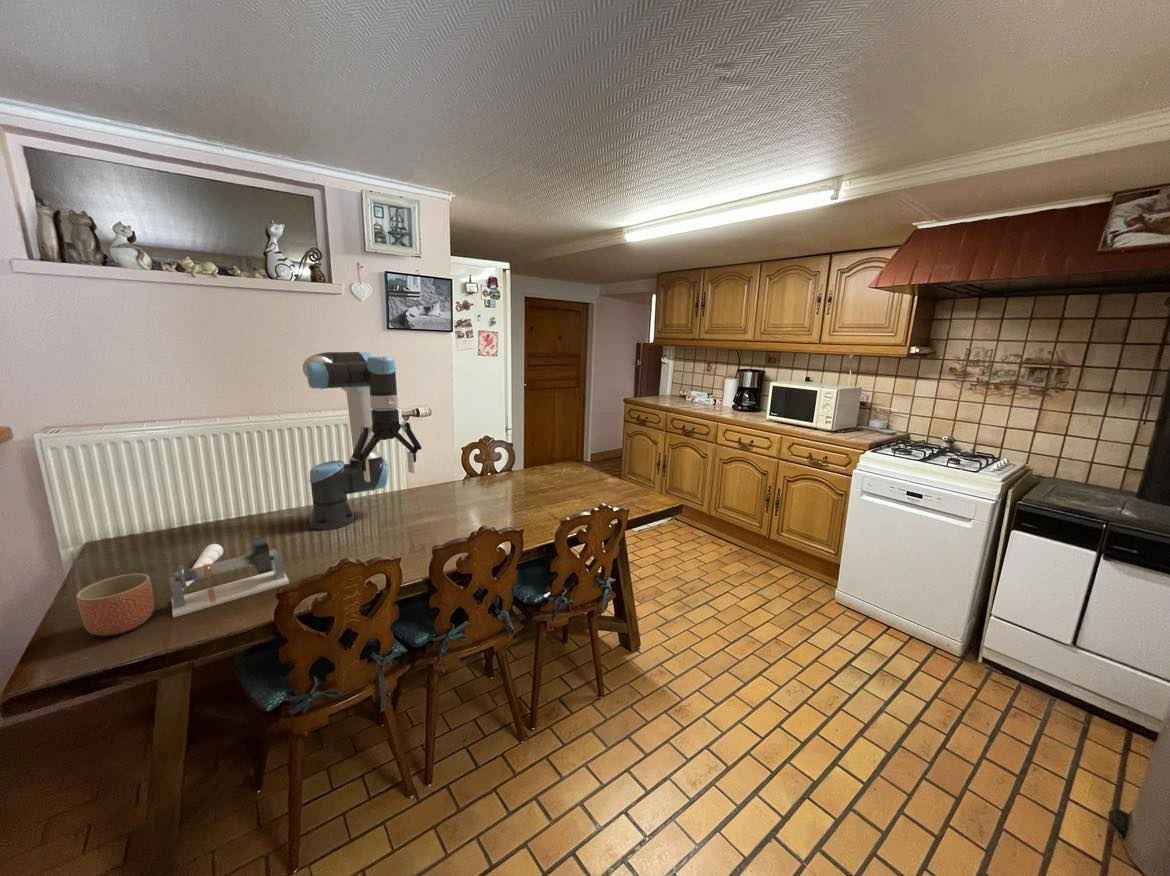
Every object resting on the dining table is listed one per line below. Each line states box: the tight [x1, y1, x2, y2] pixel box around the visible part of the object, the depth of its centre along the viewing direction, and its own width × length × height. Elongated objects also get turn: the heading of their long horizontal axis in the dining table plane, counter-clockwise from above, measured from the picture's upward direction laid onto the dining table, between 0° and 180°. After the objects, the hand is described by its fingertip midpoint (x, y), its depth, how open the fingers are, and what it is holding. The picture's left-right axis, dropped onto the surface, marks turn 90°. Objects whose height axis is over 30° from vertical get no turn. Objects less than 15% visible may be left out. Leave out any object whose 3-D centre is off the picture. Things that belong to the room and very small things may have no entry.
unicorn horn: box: [183, 543, 224, 591], centre depth 136 cm, size 5×24×5 cm, turn 15°
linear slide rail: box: [169, 547, 285, 609], centre depth 125 cm, size 6×24×11 cm, turn 133°
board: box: [171, 570, 290, 618], centre depth 126 cm, size 10×25×1 cm, turn 133°
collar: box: [250, 535, 273, 575], centre depth 129 cm, size 7×3×8 cm, turn 43°
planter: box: [75, 572, 155, 637], centre depth 109 cm, size 12×12×11 cm
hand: (390, 476), depth 141 cm, fingers open, 13 cm apart
